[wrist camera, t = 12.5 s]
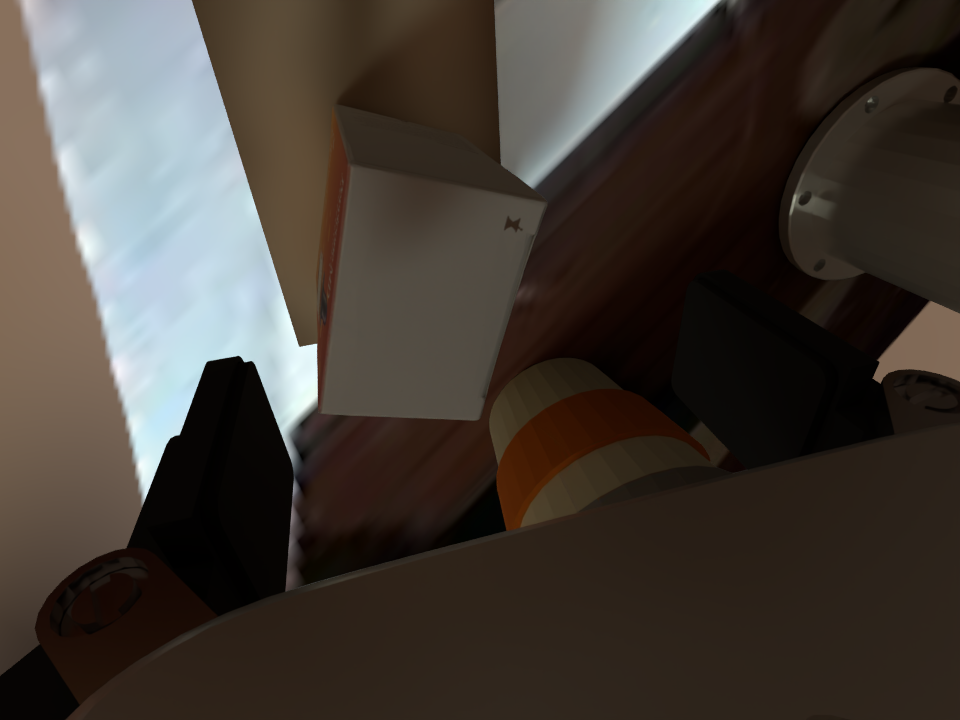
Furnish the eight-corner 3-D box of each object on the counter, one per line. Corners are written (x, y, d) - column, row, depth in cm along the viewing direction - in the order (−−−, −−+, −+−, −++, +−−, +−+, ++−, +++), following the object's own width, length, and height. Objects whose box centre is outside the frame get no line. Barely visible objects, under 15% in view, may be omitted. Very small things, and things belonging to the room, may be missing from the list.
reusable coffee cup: (515, 503, 40) (604, 710, 28) (427, 406, 33) (495, 630, 21) (653, 416, 39) (808, 592, 27) (595, 296, 32) (771, 463, 20)
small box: (332, 100, 21) (346, 150, 12) (463, 132, 23) (554, 196, 14) (312, 283, 24) (313, 420, 16) (426, 297, 26) (482, 425, 18)
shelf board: (475, -100, 20) (501, -120, 17) (495, 292, 30) (515, 319, 27) (174, -89, 18) (149, -110, 15) (300, 327, 28) (298, 362, 25)
